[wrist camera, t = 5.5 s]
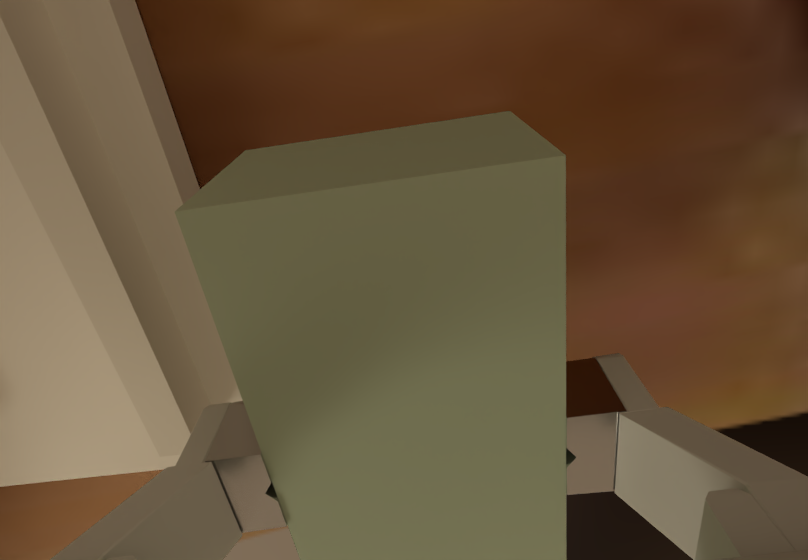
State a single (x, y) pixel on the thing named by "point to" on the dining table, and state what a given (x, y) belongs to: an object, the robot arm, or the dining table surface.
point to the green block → (399, 334)
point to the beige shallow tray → (95, 252)
